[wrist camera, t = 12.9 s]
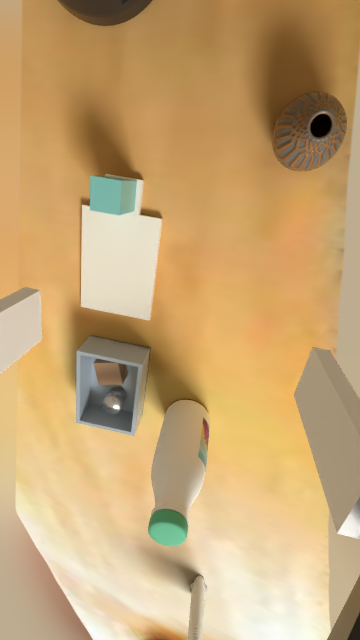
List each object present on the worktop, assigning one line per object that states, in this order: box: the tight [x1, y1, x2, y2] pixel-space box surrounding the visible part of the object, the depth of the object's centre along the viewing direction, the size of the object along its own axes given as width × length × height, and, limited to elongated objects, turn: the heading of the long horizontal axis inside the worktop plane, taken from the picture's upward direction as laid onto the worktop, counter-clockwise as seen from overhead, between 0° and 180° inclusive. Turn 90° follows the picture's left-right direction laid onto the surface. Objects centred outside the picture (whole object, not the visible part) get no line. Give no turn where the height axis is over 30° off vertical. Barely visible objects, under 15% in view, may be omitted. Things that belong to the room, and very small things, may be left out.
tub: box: [76, 335, 151, 436], centre depth 50 cm, size 14×10×5 cm
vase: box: [272, 92, 347, 171], centre depth 31 cm, size 7×7×9 cm
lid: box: [81, 174, 163, 320], centre depth 40 cm, size 19×11×7 cm, turn 171°
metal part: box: [102, 387, 127, 414], centre depth 51 cm, size 3×3×3 cm
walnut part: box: [93, 359, 128, 385], centre depth 49 cm, size 4×4×3 cm
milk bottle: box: [148, 400, 210, 546], centre depth 44 cm, size 8×8×20 cm
